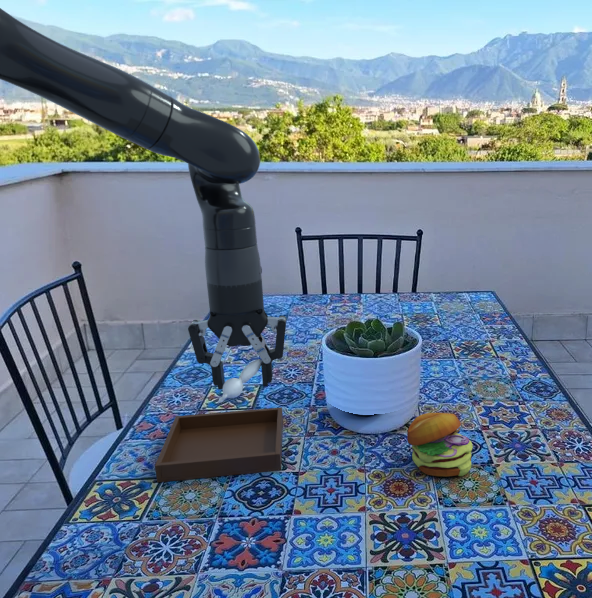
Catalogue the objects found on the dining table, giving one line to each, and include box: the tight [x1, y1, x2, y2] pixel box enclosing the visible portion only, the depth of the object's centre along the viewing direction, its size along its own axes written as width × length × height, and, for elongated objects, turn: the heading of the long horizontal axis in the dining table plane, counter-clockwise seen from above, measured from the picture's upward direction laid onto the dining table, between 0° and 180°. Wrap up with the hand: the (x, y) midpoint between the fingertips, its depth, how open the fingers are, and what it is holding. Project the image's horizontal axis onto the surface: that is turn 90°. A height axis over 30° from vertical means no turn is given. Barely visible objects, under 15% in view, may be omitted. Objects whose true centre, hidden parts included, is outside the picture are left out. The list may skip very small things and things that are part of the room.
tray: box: [154, 406, 284, 484], centre depth 99 cm, size 20×17×3 cm
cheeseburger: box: [406, 412, 474, 477], centre depth 94 cm, size 10×11×10 cm
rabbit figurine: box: [217, 358, 262, 404], centre depth 84 cm, size 6×4×8 cm
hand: (244, 385), depth 84 cm, fingers closed on rabbit figurine, 6 cm apart
